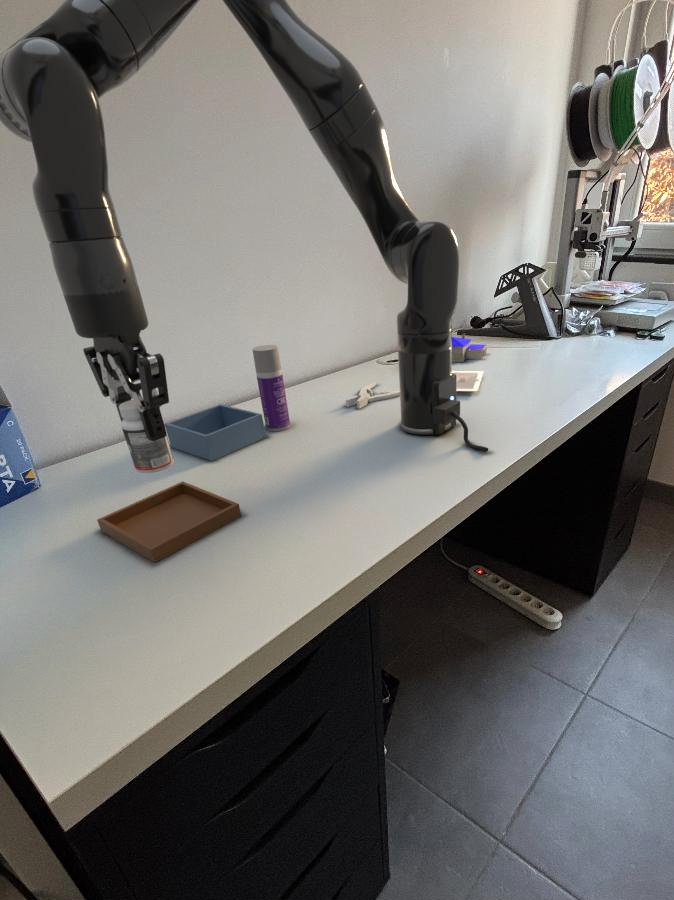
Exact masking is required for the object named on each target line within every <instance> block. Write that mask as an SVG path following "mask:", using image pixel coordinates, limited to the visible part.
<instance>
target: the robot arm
mask: <svg viewBox="0 0 674 900" xmlns="http://www.w3.org/2000/svg"><path fill="white" fill-rule="evenodd" d="M200 1H201V0H63V1H62V2H61V4H60V5H59V6H58V7H57V8H56V10H54V12H53V13H52V14H51V15H50V16H49V17H48V18H46V19H45V20H43V22H41V23H39V24H38V25H36V26H35V27H34V28H32V29H31V30H29V32H27V33H26V34H24V35H23V36H22V37H20V38H19V39H18V40H16V41H15V42H13V43H12V44H11V45H10V46H8V47H7V48H6V49H4V51H2V52H1V53H0V123H1V124H2V125H3V126H4V127H5V128H6V129H7V130H9V132H11V133H12V134H13V135H15V136H16V137H18V138H20V139H21V140H24V141H25V142H29V143H31V145H32V149H33V154H34V157H35V158H34V159H35V162H36V169H37V170H36V174H35V176H34V178H33V180H32V183H31V190H32V196H33V200H34V202H35V203H34V204H35V206H36V210H37V212H38V215H39V218H40V222H41V224H42V227H43V230H44V234H45V236H46V240H47V242H48V246H49V250H50V253H51V259H52V260H51V261H52V264H53V268H54V271H55V274H56V277H57V280H58V283H59V286H60V289H61V291H62V295H63V299H64V301H65V305H66V307H67V310H68V312H69V315H70V316H69V317H70V319H71V321H72V324H73V327H74V330H75V333H76V334H77V335H78V336H79V337H81V338H84V339H92V340H93V345H91V346H88V347H84V348H83V350H82V351H83V354H84V356H85V358H86V361H87V363H88V365H89V368H90V370H91V372H92V374H93V377H94V379H95V381H96V384H97V385H98V388H99V390H100V392H101V394H102V396H103V397H104V398H108V397H109V400H110V402H111V403H112V404H113V405H115V408H116V410H117V412H118V416H119V419H120V422H122V421H123V418H122V416H121V413H120V410H119V405H120V404H122V403H124V402H126V401H129V400H134V401H135V403H136V405H137V407H138V409H139V411H140V412H139V413H140V416H141V419H142V423H143V426H144V429H145V433H146V436H147V438H148V440H151V441H156V440H159V439H162V438H164V437H166V435H167V431H166V427H165V422H164V419H163V416H162V412H161V407H162V406H163V405H167V404H169V403H170V397H169V389H168V381H167V380H168V379H167V373H166V366H165V359H164V357H163V355H162V354H161V353H156V354H150V353H149V352H148V350H147V348H146V346H145V344H144V342H143V340H142V338H141V335H140V333H142V331H144V330H146V329H147V328H148V326H149V320H148V315H147V312H146V308H145V305H144V301H143V297H142V294H141V290H140V286H139V283H138V279H137V276H136V272H135V268H134V264H133V261H132V257H131V256H130V253H129V250H128V248H127V245H126V243H125V240H124V237H123V233H122V230H121V226H120V222H119V218H118V216H117V211H116V208H115V205H114V202H113V199H112V196H111V195H112V194H111V192H110V183H109V162H108V153H107V152H108V151H107V141H106V140H107V139H106V132H105V124H104V123H105V122H104V117H103V112H102V107H101V104H100V99H101V98H102V97H103V96H104V95H106V94H107V93H109V92H111V91H113V90H115V89H117V88H119V87H121V86H122V85H124V84H126V83H127V82H128V81H130V80H131V79H132V78H133V77H134V76H135V75H136V74H137V73H139V71H140V70H141V69H142V68H143V67H144V66H145V65H146V64H147V63H148V62H149V61H150V60H151V59H152V58H153V57H154V56H155V55H156V54H157V53H158V52H159V51H160V50H161V49H162V48H163V46H164V45H165V44H166V43H167V42H168V41H169V39H170V38H171V37H172V36H173V35H174V34H175V32H176V31H177V30H178V29H179V27H180V26H181V24H182V23H183V22H184V21H185V19H186V18H188V16H189V14H190V13H191V12H192V11H193V10H194V8H196V6H197V4H199V2H200ZM221 1H222V2H223V4H224V5H225V6H226V7H227V9H228V10H229V11H230V13H231V15H232V16H233V17H234V19H235V20H236V21H237V22H238V24H239V25H240V26H241V28H242V29H243V31H244V32H245V34H246V35H247V36H248V38H249V39H250V40H251V42H252V43H253V46H255V48H256V49H257V51H258V52H259V54H260V55H261V57H262V58H263V61H265V63H266V64H267V66H268V68H269V70H270V71H271V72H272V74H273V76H274V77H275V79H276V80H277V82H278V83H279V85H280V86H281V88H282V90H283V91H284V93H285V94H286V96H287V97H288V99H289V100H290V102H291V104H292V105H293V107H294V108H295V110H296V112H297V114H298V115H299V117H300V119H301V121H302V122H303V124H304V127H305V128H306V130H307V132H308V133H309V134H310V137H312V140H313V141H314V143H315V144H316V146H317V148H318V149H319V151H320V152H321V154H322V156H323V157H324V159H325V160H326V162H327V163H328V165H329V166H330V168H331V169H332V171H333V173H334V174H335V175H336V178H337V179H338V181H339V183H340V185H342V187H343V189H344V190H345V192H346V193H347V195H348V197H349V199H350V200H351V201H352V202H353V204H354V206H355V207H356V209H357V210H358V212H359V215H361V217H362V219H363V221H364V223H365V224H366V227H367V228H368V231H369V233H370V234H371V237H372V239H373V241H374V243H375V245H376V247H377V249H378V251H379V253H380V255H381V257H382V260H383V262H384V263H385V266H386V267H387V269H388V270H389V272H390V274H391V275H392V276H393V278H395V279H396V280H398V281H399V282H401V283H402V284H405V285H407V301H406V305H405V308H403V309H402V310H400V311H399V312H398V313H397V315H396V334H397V335H396V338H397V359H398V361H397V362H398V383H399V390H400V395H399V403H400V428H401V429H402V431H404V432H406V433H408V434H412V435H420V436H427V435H428V436H429V435H433V436H440V435H442V434H443V433H445V432H447V431H449V430H450V429H452V428H454V427H455V426H457V421H458V423H460V425H461V426H462V429H463V441H464V443H465V445H466V446H467V447H469V448H470V449H473V450H475V451H481V452H485V453H487V452H488V451H489V447H486V446H482V445H476V444H473V443H472V442H471V441H470V440H469V428H468V425H467V423H466V422H465V420H464V419H463V418H462V417H461V401H460V400H457V391H456V379H457V376H456V374H455V373H452V371H453V369H452V368H453V362H452V337H453V318H454V315H455V313H456V311H457V305H458V294H459V293H458V291H459V289H458V288H459V273H460V272H459V271H460V250H459V244H458V240H457V237H456V235H455V232H454V231H453V229H452V228H451V227H450V226H449V225H447V224H446V223H444V222H441V221H437V220H421V221H420V220H419V219H418V217H417V216H416V214H415V213H414V212H413V210H412V208H411V206H410V205H409V203H408V202H407V200H406V198H405V196H404V195H403V192H402V191H401V189H400V187H399V185H398V182H397V179H396V175H395V173H394V167H393V161H392V155H391V149H390V144H389V137H388V134H387V130H386V126H385V123H384V120H383V117H382V115H381V113H380V110H379V109H378V106H377V104H376V103H375V101H374V99H373V97H372V95H371V93H370V91H369V89H368V87H367V85H366V83H365V82H364V79H363V78H362V76H361V73H360V72H359V70H357V68H356V67H355V65H354V64H353V62H352V61H350V60H349V59H348V57H347V56H345V55H344V54H343V53H342V52H341V51H340V50H338V48H336V47H335V46H334V45H333V44H331V43H330V42H329V41H328V40H326V39H325V38H324V37H322V36H321V35H320V34H318V32H316V31H315V30H314V29H313V28H311V27H310V26H308V24H306V23H305V22H304V21H303V19H302V18H300V17H299V15H298V14H297V13H296V11H295V10H294V9H293V8H292V7H291V5H290V4H289V3H288V1H287V0H221ZM137 381H140V382H138V383H137ZM167 436H168V435H167Z"/></svg>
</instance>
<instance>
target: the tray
mask: <svg viewBox="0 0 674 900" xmlns="http://www.w3.org/2000/svg"><path fill="white" fill-rule="evenodd" d="M240 517H242V512H241V507H240V503H237V502H236V501H233V500H231V499H228V498H225V497H223V496H220V495H218V494H215V493H213V492H210V491H208V490H206V489H203V488H201V487H198V486H195V485H193V484H190V483H189V482H186V481H183V480H182V481H180V482H178V483H176V484H173V485H171V486H169V487H166V488H164V489H161V490H160V491H158V492H156V493H154V494H152V495H149V496H147V497H144V498H142V499H140V500H138V501H135V502H133V503H131V504H129V505H127V506H125V507H122V508H119V509H117V510H116V511H115V510H114V511H113V512H111V513H109V514H106V515H104V516H102V517H100V518H98V519H96V521H97V524H98V526H99V529H100V532H101V533H103V534H105V535H107V536H109V537H110V538H111V539H113V540H115V541H117V542H118V543H120V544H122V545H124V546H126V547H127V548H129V549H131V550H133V551H134V552H136V553H138V554H139V555H141V556H143V557H144V558H146V559H148V560H150V561H151V562H153V563H158V562H159V561H161V560H163V559H165V558H166V557H169V556H171V555H172V554H174V553H176V552H178V551H180V550H181V549H183V548H185V547H187V546H189V545H190V544H192V543H194V542H196V541H198V540H200V539H202V538H203V537H206V536H207V535H209V534H211V533H212V532H214V531H216V530H218V529H220V528H222V527H223V526H226V525H227V524H229V523H231V522H233V521H235V520H236V519H239V518H240Z"/></svg>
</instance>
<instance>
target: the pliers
mask: <svg viewBox="0 0 674 900" xmlns="http://www.w3.org/2000/svg"><path fill="white" fill-rule="evenodd" d="M376 386H377V383H376V382H375V381H374V382H373V381H372V382H371V383H368V384H366V385H364V386H363V387H362V388H361V389H360V390H359V392H358V395H352V396H350V397H348V398H345V406H346V407H347V408H350V407H353V406H355V405H356V408H357V410H358V409H362V408H363V407H365V406H367V405H368V403H373V402H375V401H381V400H387V399H392V398H395V397H398V396H399V397H400V389H397V390H394V391H382V392H376V393H375V394H374V393H373V390H372V389H373V388H375V387H376ZM373 394H374V395H373Z"/></svg>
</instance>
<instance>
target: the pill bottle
mask: <svg viewBox="0 0 674 900" xmlns="http://www.w3.org/2000/svg"><path fill="white" fill-rule="evenodd" d="M119 410H120V413H121V416H122V418H123V421H122V422H121V421H120V422H121V423H120V426H121V430H122V433H123V436H124V439H125V443H126V445H127V448H128V450H129V454H130V457H131V461H132V463H133V467H134V469H135V470H136V472H138V473H141V474H153V473H158V472H161V471H165V470H167V469H168V468H170V467H172V466H173V464H174V462H175V459H174V456H173V452H172V447H171V445H170V442H169V438H168V435H166V437H164V438H162V439H159V440H156V441H151V440H148V438H147V436H146V433H145V429H144V426H143V423H142V419H141V416H140V413H139V412H140V411H139V409H138V407H137V405H136V403H135V401H134V399H131V400H129V401H126V402H124V403H122V404H120V405H119Z"/></svg>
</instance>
